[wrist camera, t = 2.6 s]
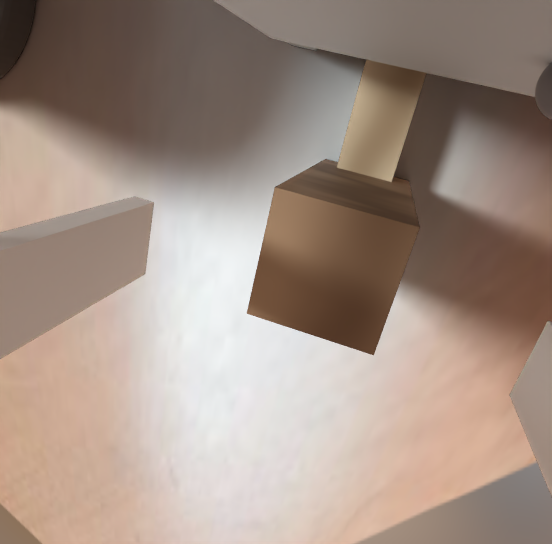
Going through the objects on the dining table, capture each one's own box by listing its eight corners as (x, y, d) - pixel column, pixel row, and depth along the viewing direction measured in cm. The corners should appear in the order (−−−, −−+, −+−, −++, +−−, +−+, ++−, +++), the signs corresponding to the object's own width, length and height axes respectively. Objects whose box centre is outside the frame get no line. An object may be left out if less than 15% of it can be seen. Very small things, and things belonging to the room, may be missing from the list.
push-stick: (305, 237, 28) (246, 313, 17) (413, -176, 20) (434, -528, 9) (382, 260, 27) (373, 355, 16) (524, -161, 19) (692, -526, 8)
